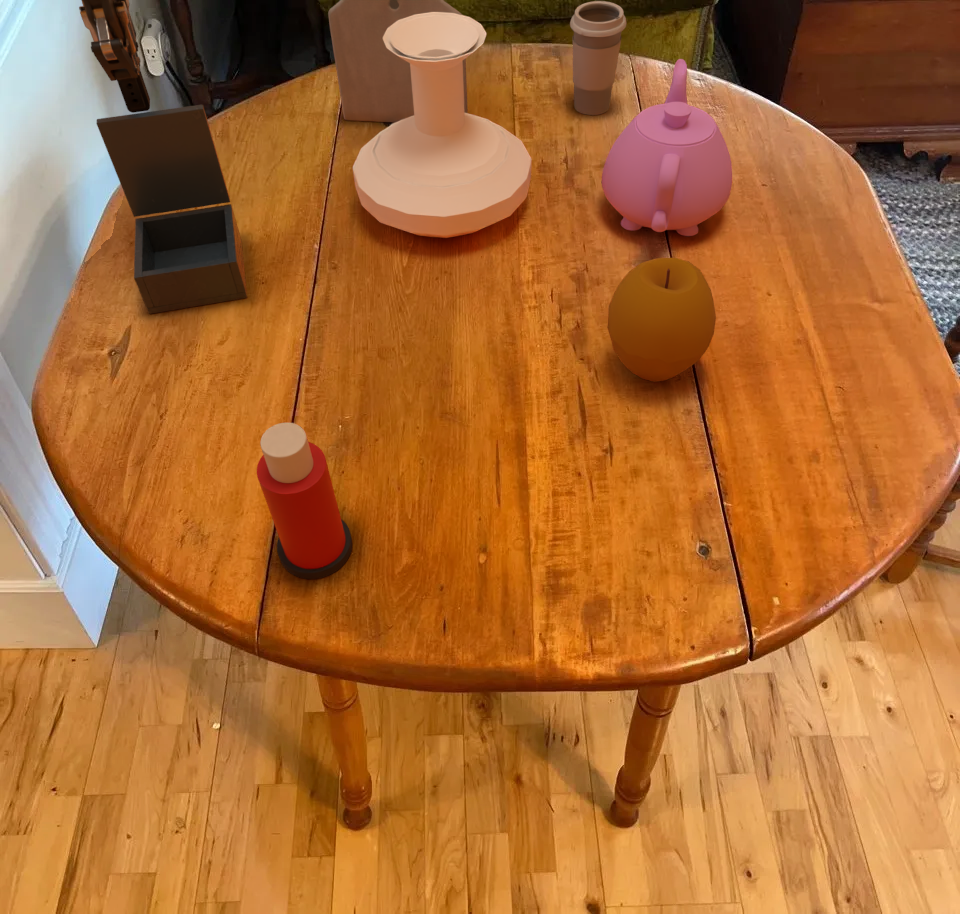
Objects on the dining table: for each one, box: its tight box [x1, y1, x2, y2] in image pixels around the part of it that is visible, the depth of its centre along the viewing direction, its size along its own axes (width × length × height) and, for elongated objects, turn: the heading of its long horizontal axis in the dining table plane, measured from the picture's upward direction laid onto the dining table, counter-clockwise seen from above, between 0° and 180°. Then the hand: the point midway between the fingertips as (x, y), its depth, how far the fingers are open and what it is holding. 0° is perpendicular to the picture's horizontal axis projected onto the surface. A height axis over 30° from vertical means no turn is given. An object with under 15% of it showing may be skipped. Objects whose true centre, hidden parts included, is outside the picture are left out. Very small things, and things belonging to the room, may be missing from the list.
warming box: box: [133, 203, 248, 315], centre depth 92 cm, size 10×10×5 cm
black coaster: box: [276, 518, 353, 580], centre depth 71 cm, size 6×6×1 cm
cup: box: [569, 0, 627, 116], centre depth 109 cm, size 7×7×12 cm
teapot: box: [600, 58, 733, 237], centre depth 95 cm, size 20×14×12 cm
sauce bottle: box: [256, 422, 346, 569], centre depth 66 cm, size 5×5×13 cm
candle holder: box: [351, 12, 533, 239], centre depth 94 cm, size 20×20×19 cm
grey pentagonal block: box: [327, 0, 469, 124], centre depth 107 cm, size 16×8×19 cm, turn 83°
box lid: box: [96, 104, 231, 218], centre depth 89 cm, size 11×10×1 cm
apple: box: [606, 257, 717, 383], centre depth 79 cm, size 10×10×12 cm
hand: (140, 108), depth 88 cm, fingers closed
